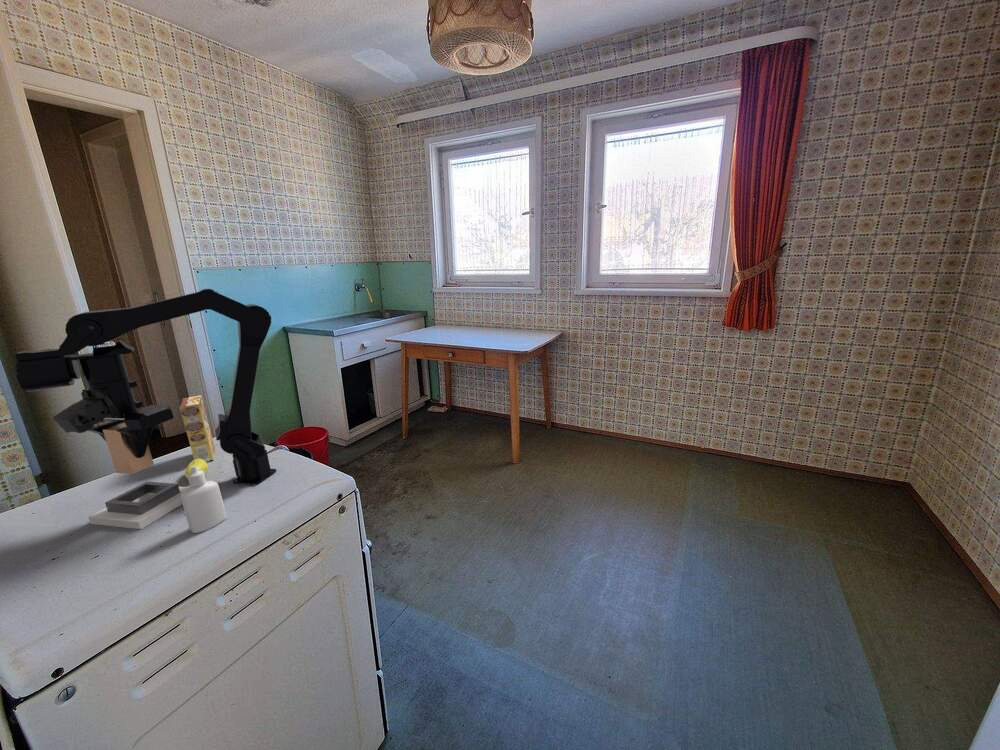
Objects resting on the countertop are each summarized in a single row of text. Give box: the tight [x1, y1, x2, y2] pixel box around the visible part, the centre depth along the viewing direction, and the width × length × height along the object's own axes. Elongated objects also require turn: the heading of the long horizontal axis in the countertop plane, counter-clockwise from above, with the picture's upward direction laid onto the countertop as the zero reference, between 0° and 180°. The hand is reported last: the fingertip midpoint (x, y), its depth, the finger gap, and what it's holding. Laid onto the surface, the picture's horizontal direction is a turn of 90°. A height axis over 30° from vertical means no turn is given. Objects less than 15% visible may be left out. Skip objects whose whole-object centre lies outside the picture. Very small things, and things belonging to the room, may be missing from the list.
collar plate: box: [88, 481, 190, 530], centre depth 82 cm, size 12×12×4 cm
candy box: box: [179, 395, 216, 462], centre depth 103 cm, size 9×4×15 cm, turn 33°
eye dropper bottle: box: [181, 466, 227, 534], centre depth 75 cm, size 4×6×12 cm
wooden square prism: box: [103, 422, 155, 475], centre depth 79 cm, size 4×4×9 cm
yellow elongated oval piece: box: [184, 459, 209, 480], centre depth 95 cm, size 4×8×4 cm, turn 22°
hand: (132, 456), depth 80 cm, fingers closed on wooden square prism, 4 cm apart
